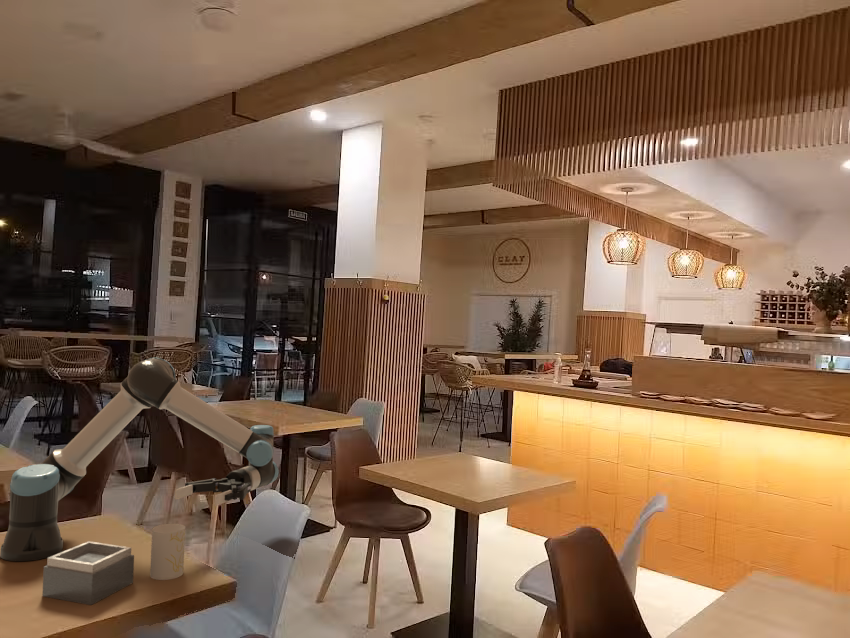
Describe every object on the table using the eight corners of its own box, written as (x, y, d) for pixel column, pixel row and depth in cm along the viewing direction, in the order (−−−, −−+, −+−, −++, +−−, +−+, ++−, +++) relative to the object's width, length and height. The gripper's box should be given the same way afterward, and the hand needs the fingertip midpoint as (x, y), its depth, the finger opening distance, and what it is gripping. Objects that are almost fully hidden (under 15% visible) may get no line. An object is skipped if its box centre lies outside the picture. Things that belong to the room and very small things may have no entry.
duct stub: (42, 596, 156) (44, 558, 156) (87, 575, 170) (88, 540, 170) (91, 604, 152) (92, 566, 152) (132, 582, 166) (134, 547, 166)
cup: (171, 581, 168) (173, 534, 168) (143, 577, 169) (145, 531, 169) (189, 570, 176) (191, 525, 176) (162, 566, 177) (164, 522, 177)
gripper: (276, 498, 197) (232, 516, 177) (208, 488, 206) (159, 505, 186) (277, 473, 197) (233, 489, 178) (209, 464, 206) (160, 479, 186)
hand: (195, 497), depth 182 cm, fingers open, 13 cm apart
